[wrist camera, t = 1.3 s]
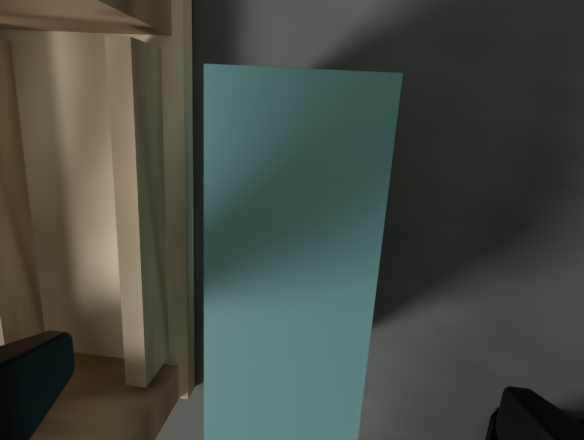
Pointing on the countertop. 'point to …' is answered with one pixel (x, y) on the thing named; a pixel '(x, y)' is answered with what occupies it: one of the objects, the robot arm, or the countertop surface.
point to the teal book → (292, 246)
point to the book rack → (100, 204)
